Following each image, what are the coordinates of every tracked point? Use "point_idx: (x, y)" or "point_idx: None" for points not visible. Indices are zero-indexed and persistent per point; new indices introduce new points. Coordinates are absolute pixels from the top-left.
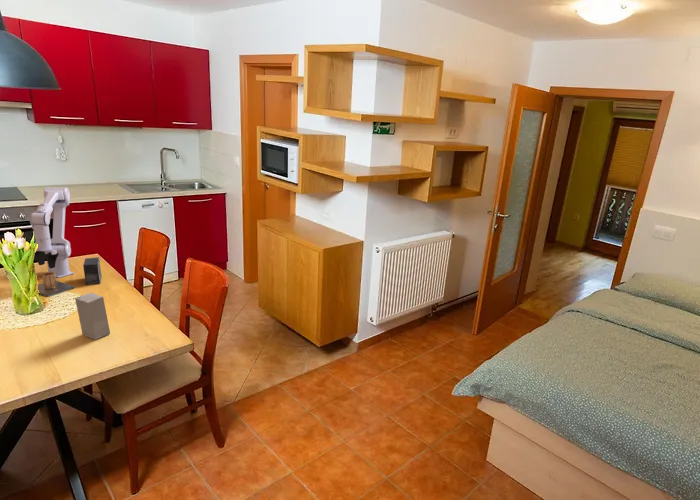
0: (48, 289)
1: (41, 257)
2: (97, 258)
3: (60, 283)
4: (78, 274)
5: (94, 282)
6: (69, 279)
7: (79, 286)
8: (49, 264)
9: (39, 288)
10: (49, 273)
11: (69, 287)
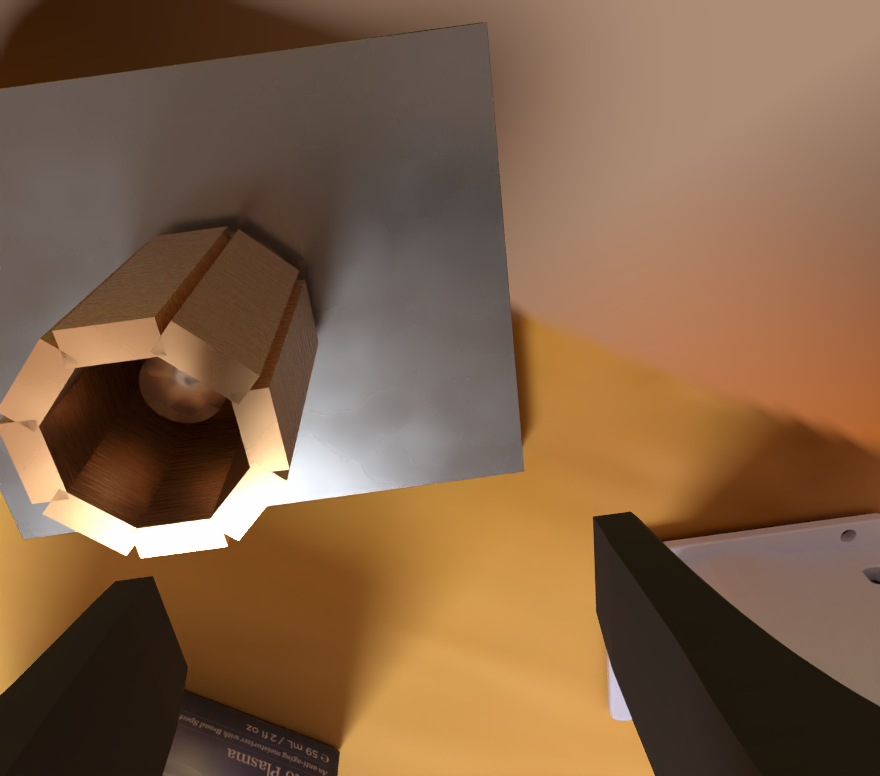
0: (118, 242)
1: (686, 770)
2: None
3: None
4: (539, 725)
5: None
6: (447, 607)
7: (76, 585)
8: (24, 677)
9: (281, 161)
10: (238, 475)
11: (11, 485)
